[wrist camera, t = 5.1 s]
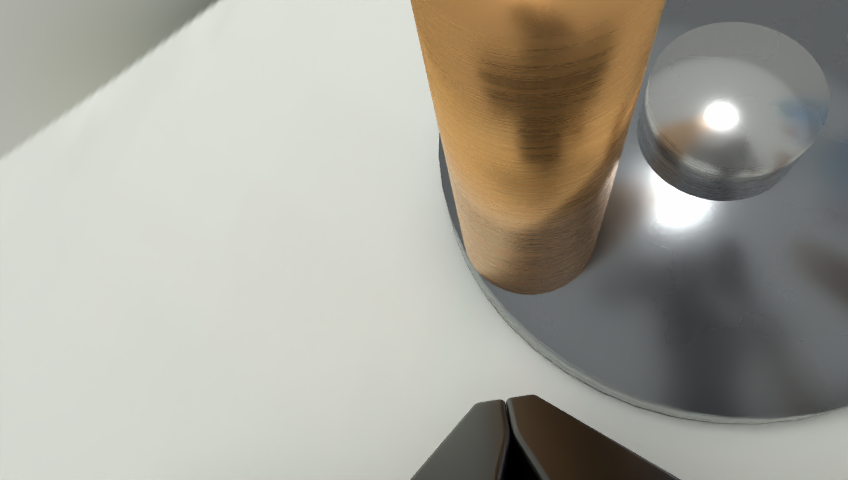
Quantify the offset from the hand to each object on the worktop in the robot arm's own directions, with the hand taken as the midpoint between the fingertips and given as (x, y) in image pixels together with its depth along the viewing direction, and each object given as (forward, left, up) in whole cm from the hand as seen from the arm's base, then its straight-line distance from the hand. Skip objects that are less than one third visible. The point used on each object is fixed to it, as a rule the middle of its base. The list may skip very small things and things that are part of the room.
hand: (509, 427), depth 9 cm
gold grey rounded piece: (-3, -8, -6) cm, 11 cm away
